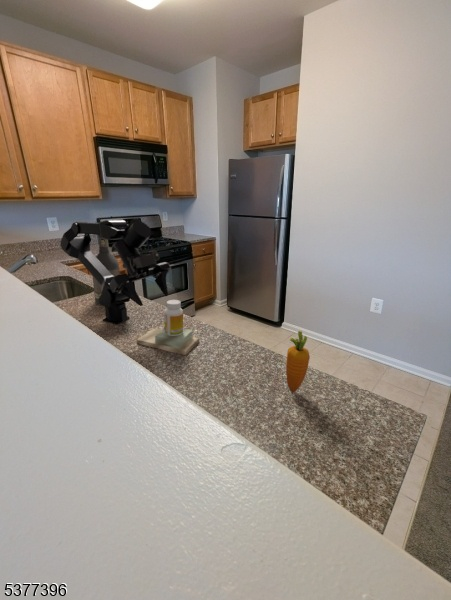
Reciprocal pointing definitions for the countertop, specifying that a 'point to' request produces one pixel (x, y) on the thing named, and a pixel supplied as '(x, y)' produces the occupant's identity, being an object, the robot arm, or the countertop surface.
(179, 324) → the supplement bottle
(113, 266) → the liquor
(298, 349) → the carrot
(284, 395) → the countertop surface
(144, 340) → the column base
